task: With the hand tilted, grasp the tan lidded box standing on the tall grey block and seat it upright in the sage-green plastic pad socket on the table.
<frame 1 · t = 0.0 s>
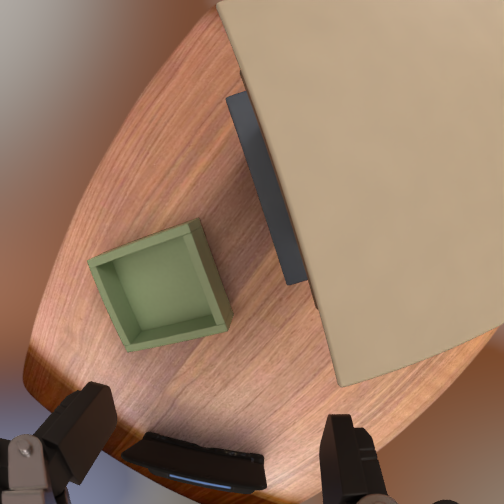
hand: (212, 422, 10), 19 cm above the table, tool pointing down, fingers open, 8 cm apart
grey block: (314, 170, 26), on the table
pad socket: (165, 282, 30), on the table
tan lidded box: (354, 162, 12), point 15 cm above the table, touching grey block
game console: (203, 453, 35), on the table
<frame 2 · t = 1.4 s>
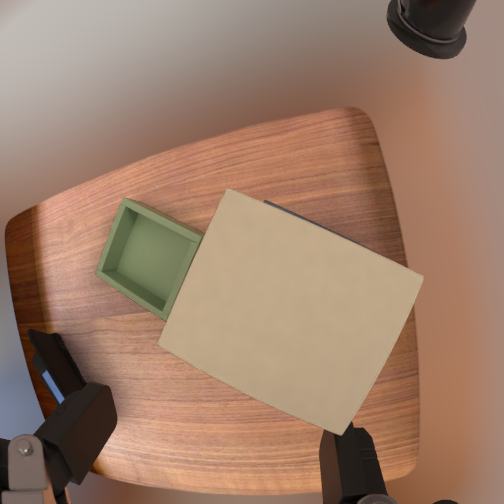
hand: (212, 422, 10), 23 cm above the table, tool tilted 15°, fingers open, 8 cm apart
pad socket: (158, 257, 36), on the table
tan lidded box: (298, 297, 17), point 15 cm above the table, tilted 5°, touching grey block
game console: (78, 381, 39), on the table
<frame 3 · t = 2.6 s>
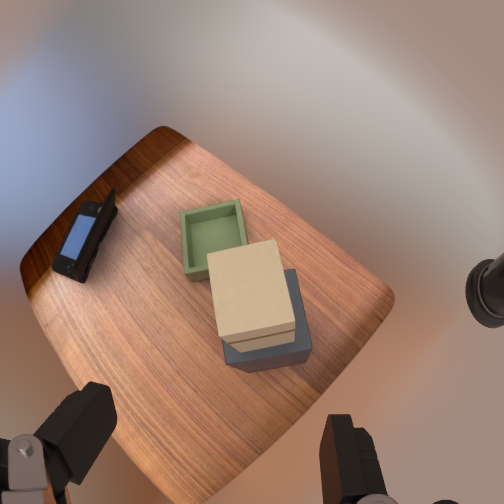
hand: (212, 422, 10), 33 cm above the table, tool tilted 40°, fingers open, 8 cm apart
grey block: (271, 340, 43), on the table
pad socket: (217, 245, 50), on the table
tan lidded box: (261, 316, 29), point 15 cm above the table, touching grey block
game console: (93, 243, 54), on the table
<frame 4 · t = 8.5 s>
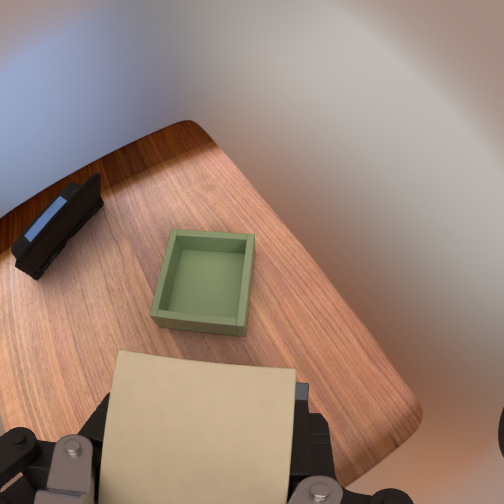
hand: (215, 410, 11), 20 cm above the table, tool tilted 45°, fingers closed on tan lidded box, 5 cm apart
pad socket: (208, 287, 36), on the table
tan lidded box: (226, 448, 14), point 15 cm above the table, touching gripper, grey block
game console: (63, 236, 41), on the table
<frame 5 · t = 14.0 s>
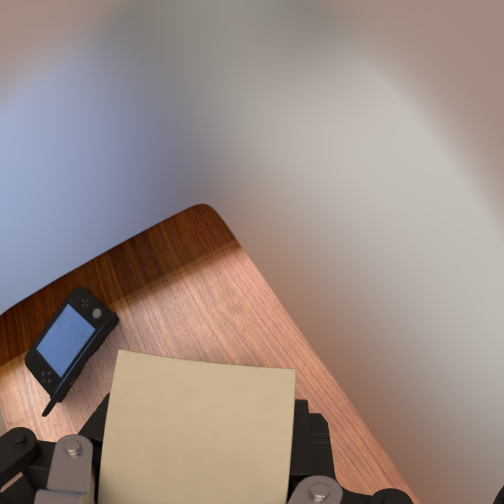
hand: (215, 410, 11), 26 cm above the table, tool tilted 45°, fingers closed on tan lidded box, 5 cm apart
tan lidded box: (226, 449, 14), point 21 cm above the table, touching gripper
game console: (79, 353, 37), on the table
when the fingers open (6 cm above the table, at t = 19.9 s): tan lidded box stays where it is, resting on pad socket.
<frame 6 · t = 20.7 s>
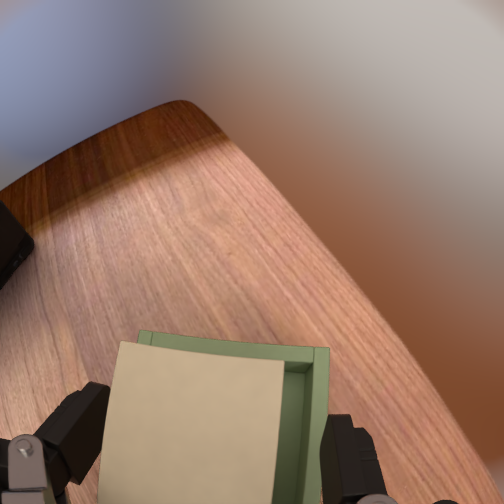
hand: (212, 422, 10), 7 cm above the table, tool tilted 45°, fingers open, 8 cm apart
pad socket: (226, 444, 15), on the table
tan lidded box: (221, 440, 15), resting on pad socket
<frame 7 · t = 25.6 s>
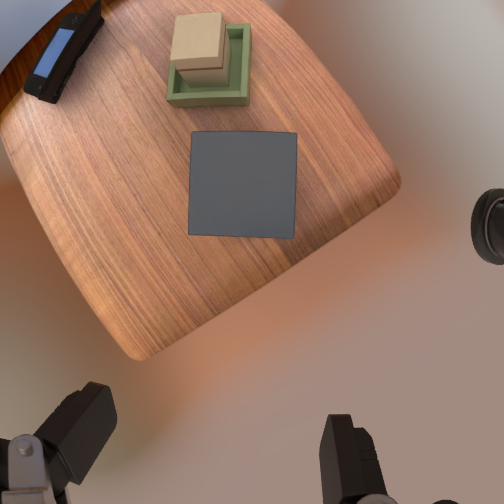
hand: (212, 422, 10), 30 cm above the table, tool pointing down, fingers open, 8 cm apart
grey block: (252, 190, 38), on the table
pad socket: (213, 69, 36), on the table
tan lidded box: (211, 66, 35), resting on pad socket
game console: (71, 59, 36), on the table
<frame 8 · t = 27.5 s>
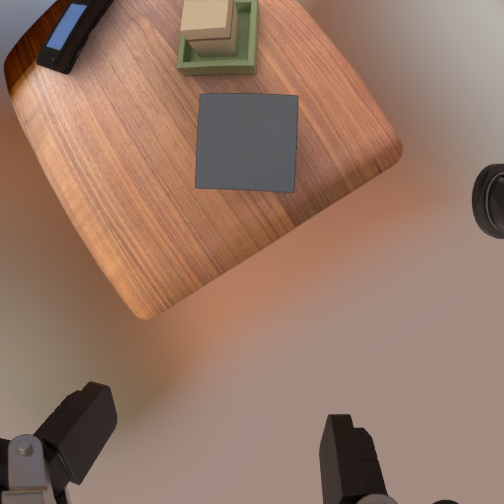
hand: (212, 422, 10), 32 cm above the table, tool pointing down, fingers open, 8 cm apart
grey block: (258, 154, 39), on the table
pad socket: (221, 40, 35), on the table
tan lidded box: (219, 38, 35), resting on pad socket
game console: (83, 32, 36), on the table
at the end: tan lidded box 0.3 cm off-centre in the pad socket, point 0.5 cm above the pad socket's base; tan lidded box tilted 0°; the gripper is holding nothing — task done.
